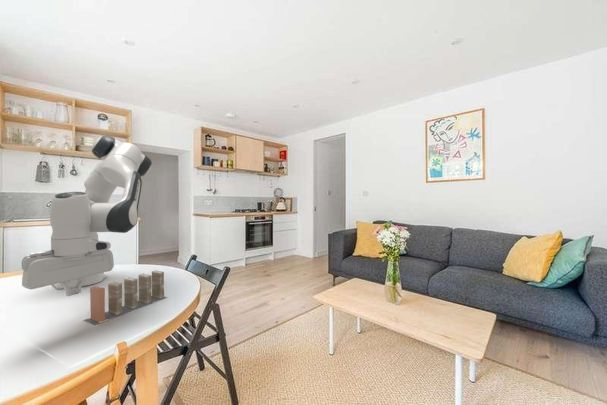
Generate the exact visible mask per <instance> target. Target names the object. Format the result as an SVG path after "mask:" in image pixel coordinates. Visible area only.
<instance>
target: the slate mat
mask: <svg viewBox="0 0 607 405" xmlns="http://www.w3.org/2000/svg"><path fill="white" fill-rule="evenodd" d="M168 298H169V297H168V296H164V298H162V299H158V298H155V297H152V302H151V303H148V304H146V303H142V302H139V300H138V308H135V309H130V308H127V307H124V305H122V314H119V315H115V314H112V313H109V312H108V310H107V311H105V320H104V321H101V322H97V321H95V320H92V319H91V316H89V317H87V318H86V319H83V320H82V321H83V322H86V323H89V324H91V325H93V326H97V325H100V324H101V323H104V322H107V321H110V320H112V319H115V318H117V317H121V316H123V315H125V314H127V313H132V312H133V311H135V310H138V309H141V308H144V307H147V306H149V305H152V304H154V303H157V302H159V301H163V300H164V299H168Z"/></svg>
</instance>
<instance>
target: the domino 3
mask: <svg viewBox="0 0 607 405" xmlns="http://www.w3.org/2000/svg"><path fill="white" fill-rule="evenodd" d="M138 301H139V302H142V303H146V304H148V303H151V302H152V274H147V273H140V274H138Z"/></svg>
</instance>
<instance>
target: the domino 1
mask: <svg viewBox="0 0 607 405" xmlns="http://www.w3.org/2000/svg"><path fill="white" fill-rule="evenodd" d="M107 290H108V291H107V292H108V294H107V295H108V296H107V302H108V303H107V305H108V306H107V307H108V310H107V311H108V312H109V313H112V314H115V315H119V314H122V306H123V283H122V282H117V281H110V282H107Z"/></svg>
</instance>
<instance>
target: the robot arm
mask: <svg viewBox="0 0 607 405" xmlns="http://www.w3.org/2000/svg"><path fill="white" fill-rule="evenodd" d="M91 148H92V149H91V152H92V155H94V156H95V157H96V158H97V159H101V160H100V161H99V162H98V164H97V165H96V166H95V167H94V169H93V170H92V172H91V173H89V176H88V177H87V178H86V179H85V180H84V183H83V185H84V186H83V187H84V188H85V192H84V191H68V192H60V193H57V194H55V195H54V196H53V198H52V200H51V204H50V211H49V212H50V213H49V215H50V216H49V217H50V218H49V222H50V226H51V229H52V232H51V236H50V250H46V251H45V250H44V251H40V252H39V251H38V252H32V253H29V254H28V255H26V256H24V257H23V258H22V260H21V269H22V270H23V272H22V278H21V286H22V287H23V288H25V289H28V290H35V289H39V288H43V287H48V286H53V287H54V288H55V289H56V290H59V289H64V290H65V296H66V297H70V296H74V295H77V294H81V293H82V288H83V287H86V286H90V285H91V286H92V285H95V284H98V283H100V282H102V281H104V279H107V277H108V275H107V274H105V273H107V272H111V271H112V270H113V269H114V267H115V263H114V254H113V251H111V246H112V245H111V242H108V241H103V240H99V234H98V233H120V234H121V233H122V234H125V233H129V231H131V230H132V229H133V228H134V227H136V225H137V224H138V220H139V219H138V217H139V216H138V214H139V213H138V212H139V211H138V210H139V203H140V198H141V192H142V185H143V184H142V183H143V180H142V177H144V176H146V175H147V174H148V173H149V172H150V170H151V168H152V159H151V158H150V157H148V156H147V155H146V154H145V155H144V154H143V153H142V151H141V149H140V148H139V147H138V146H137V145H135V144H134V143H130V142H122V141H120V140H118V139H115V137H113V136H110V135H109V134H108V135H107V134H106V135H102V136H100V137H97V139H96V140H94V142H93V143H92V147H91ZM117 187H118V188H122V189H123V193H122V197H121V200H118V201H115V202H109V201H110V199H111V197H112V195H113V193H115V192H114V191H115V190H116V189H117Z"/></svg>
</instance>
